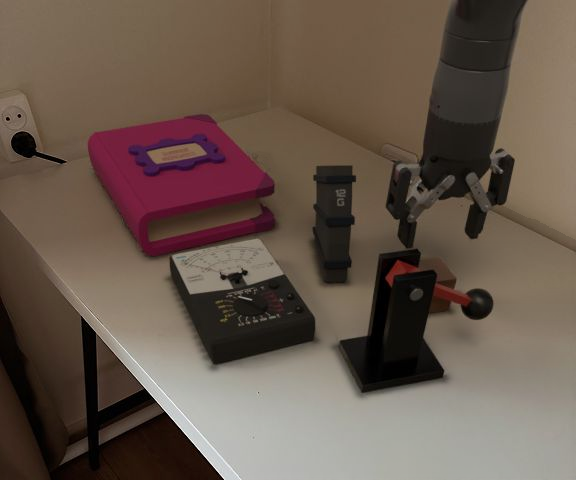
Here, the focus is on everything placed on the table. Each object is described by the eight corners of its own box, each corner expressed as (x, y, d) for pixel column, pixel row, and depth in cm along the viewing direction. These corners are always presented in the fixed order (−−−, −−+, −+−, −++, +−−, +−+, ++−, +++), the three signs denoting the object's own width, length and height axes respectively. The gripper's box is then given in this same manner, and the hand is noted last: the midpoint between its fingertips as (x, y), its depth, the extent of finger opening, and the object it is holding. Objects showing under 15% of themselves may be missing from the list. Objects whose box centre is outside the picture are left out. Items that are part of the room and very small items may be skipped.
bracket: (414, 334, 79) (435, 237, 69) (442, 378, 73) (469, 279, 64) (338, 347, 77) (349, 249, 67) (361, 393, 71) (376, 293, 62)
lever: (470, 310, 75) (490, 286, 74) (485, 329, 73) (505, 305, 71) (379, 278, 68) (398, 251, 66) (392, 298, 66) (412, 270, 64)
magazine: (326, 287, 83) (326, 166, 78) (312, 272, 95) (311, 166, 90) (354, 286, 83) (356, 165, 78) (337, 271, 95) (337, 165, 90)
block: (432, 288, 86) (439, 256, 82) (449, 310, 83) (457, 278, 79) (398, 293, 85) (404, 261, 81) (413, 316, 82) (420, 284, 78)
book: (143, 260, 89) (135, 211, 84) (92, 174, 107) (83, 129, 101) (278, 227, 96) (278, 180, 91) (209, 152, 114) (207, 109, 108)
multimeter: (212, 367, 74) (210, 334, 70) (170, 277, 86) (166, 245, 83) (315, 341, 77) (318, 309, 74) (260, 258, 90) (260, 227, 87)
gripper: (417, 127, 62) (396, 266, 74) (545, 112, 65) (506, 248, 77) (388, 98, 67) (373, 232, 79) (509, 86, 70) (477, 217, 82)
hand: (438, 240), depth 78 cm, fingers open, 8 cm apart
